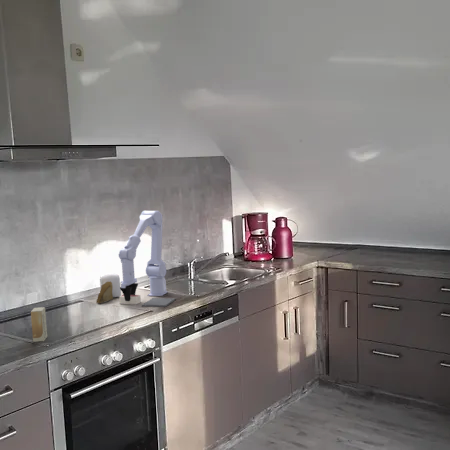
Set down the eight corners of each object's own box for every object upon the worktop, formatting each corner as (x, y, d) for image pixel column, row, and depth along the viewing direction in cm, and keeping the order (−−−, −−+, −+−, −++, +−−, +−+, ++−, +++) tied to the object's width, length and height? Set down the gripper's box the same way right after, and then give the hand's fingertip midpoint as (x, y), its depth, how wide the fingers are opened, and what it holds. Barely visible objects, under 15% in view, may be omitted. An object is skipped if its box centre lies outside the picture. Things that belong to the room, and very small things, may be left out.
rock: (99, 300, 278) (117, 294, 283) (92, 285, 281) (111, 280, 286) (95, 310, 286) (113, 304, 292) (88, 295, 289) (106, 289, 295)
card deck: (124, 301, 284) (123, 294, 283) (140, 301, 281) (140, 294, 281) (119, 303, 279) (119, 296, 279) (136, 304, 277) (136, 296, 276)
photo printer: (102, 299, 290) (100, 275, 289) (100, 298, 294) (98, 274, 293) (121, 296, 294) (120, 273, 294) (120, 295, 298) (118, 272, 297)
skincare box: (36, 337, 226) (34, 307, 225) (47, 336, 226) (45, 306, 225) (32, 342, 220) (30, 311, 219) (44, 341, 220) (41, 310, 219)
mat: (152, 299, 285) (152, 298, 285) (175, 300, 282) (175, 298, 282) (141, 306, 271) (141, 304, 271) (165, 306, 268) (165, 305, 268)
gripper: (126, 269, 287) (128, 296, 288) (114, 275, 273) (116, 302, 274) (139, 269, 285) (141, 296, 286) (128, 275, 271) (129, 303, 272)
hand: (130, 299), depth 280 cm, fingers closed on card deck, 5 cm apart
